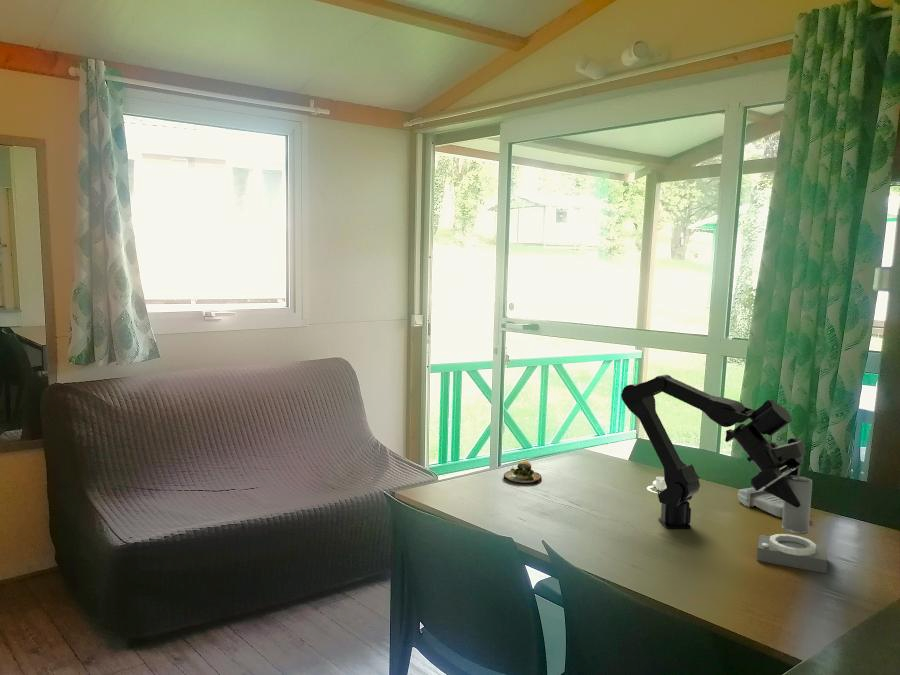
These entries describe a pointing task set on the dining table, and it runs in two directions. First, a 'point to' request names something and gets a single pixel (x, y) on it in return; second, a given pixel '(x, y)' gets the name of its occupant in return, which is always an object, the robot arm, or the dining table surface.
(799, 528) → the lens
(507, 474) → the brown round piece
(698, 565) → the dining table surface
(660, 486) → the teacup and saucer
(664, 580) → the dining table surface
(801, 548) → the grey rectangular block
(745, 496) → the handheld device
